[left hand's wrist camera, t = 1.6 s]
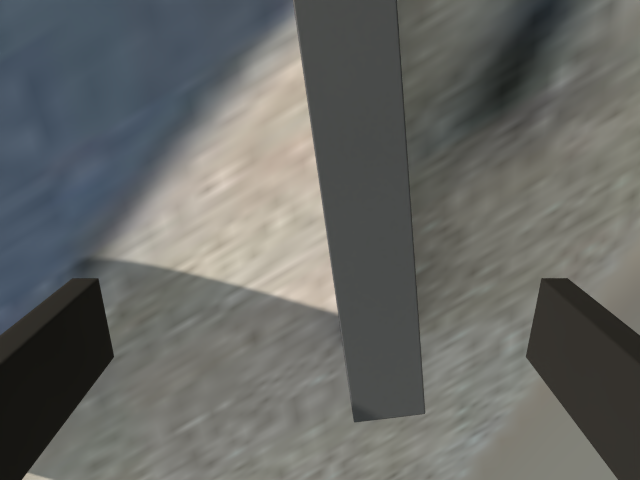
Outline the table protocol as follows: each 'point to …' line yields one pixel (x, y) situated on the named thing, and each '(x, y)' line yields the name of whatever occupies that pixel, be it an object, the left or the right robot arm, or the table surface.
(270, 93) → the table surface
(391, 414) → the beam
